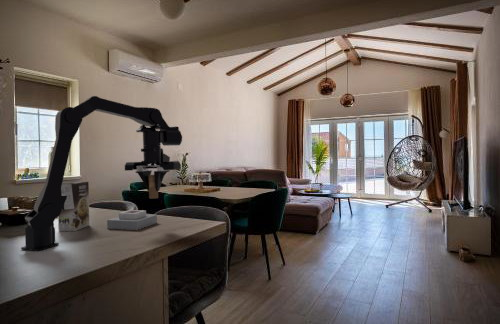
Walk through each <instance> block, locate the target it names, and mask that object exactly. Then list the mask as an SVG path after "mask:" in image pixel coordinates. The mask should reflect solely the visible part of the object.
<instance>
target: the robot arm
mask: <svg viewBox="0 0 500 324" xmlns="http://www.w3.org/2000/svg"><path fill="white" fill-rule="evenodd" d="M95 111H96V112H99V113H104V114H109V115H114V116H117V117H121V118H126V119H130V120H133V121H134V122H136V123H138V124H140V126H139V128H137V129H136V133H142V146H143V147H142V148H141V149H140V152H141V153H143V160H141V161H127V162H125V164H124V171H135V173H136V174H138V176H139V177H140V179H141V181H142V182H143V185H144V186H145V189H146V190H147V191H148V192H149V176H148V175H152V171H153V170H152V169H157V170H154V171H153V175H154V177H155V186H156V191H158V192H159V191H160V189H161V186H162V183H163V181H164V177H165V176H166V174H167V173H169V172H170V171H175V170H176V171H177V170H181V169H182V165H181V162H180V160H173V161H172V160H171V157H170V156H169V155H167V154H166V153H164V149H163V148H162V147H161V144H162V146H181V144H182V141H183V135H182V133H181V130H180V129H179V126H169V124H168V123H167V122H166V121H165V119H164V117H163V114H162V112H161V111H160V110H159V109H158V108H156V107H147V106H146V107H143V106H142V107H139V106H138V107H137V106H133V105H129V104H125V103H121V102H117V101H113V100H110V99H106V98H102V97H99V96H97V95H92V96H90V97H88V98H86V100H84V101H82V102H81V103H79V104H78V105H76V106H73V107H72V106H67V107H65V108H63V109H61V110H59V111H58V112H57V113H56V114H55V117H54V118H55V120H54V131H55V141H54V144H53V149H52V153H51V157H50V160H49V161H50V162H49V166H48V170H47V174H46V178H45V182H44V186H43V187H42V189H41V190H40V193H39V194H38V196H37V199H36V201H35V203H34V206H33V209H32V210H31V211H30V212H29V213H28V214H27V215H26V216H25V217H24V219H25V222H26V223H27V225H26V226H24V233H25V234H24V236H25V237H24V238H25V239H24V240H25V246H22V247H21V248H20V249H21V250H24V251H25V250H26V251H27V250H28V251H42V250H46V249H48V248H52V247H55V246H58V245H59V244H60V243H59V242H56V227H55V224H54V222H55V220H56V218H58V216H59V215H60V214H61V211H62V210H65V209H64V204H65V201H66V199H67V196H66V195H63V194H62V192H61V186H62V184H63V181H64V178H65V177H64V176H65V172H66V167H67V164H68V160H69V156H70V152H71V148H72V147H71V146H72V142H73V139H74V138H75V136H76V135H77V133H78V130H79V129H80V127H81V124H82V122H83V119H84V118H86V117H87V116H89V115H90V114H92V113H93V112H95ZM150 169H151V170H150Z"/></svg>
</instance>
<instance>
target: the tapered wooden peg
mask: <svg viewBox="0 0 500 324" xmlns="http://www.w3.org/2000/svg"><path fill="white" fill-rule="evenodd" d="M148 176H149V191H148V198H149V199H150V200H151V199H152V200H153V199H159V191H156V186H155V177H154V174H150V175H148Z"/></svg>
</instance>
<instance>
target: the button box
mask: <svg viewBox="0 0 500 324" xmlns="http://www.w3.org/2000/svg"><path fill="white" fill-rule="evenodd" d="M106 221H107V223H106V226H107V227H106V228H107V229H108V230H109V229H110V230H124V229H125V230H127V231H138V229H139V230H142V229H144V227H145V228H148V227H150V226H153V225H155V224H157V223H158V215H157V214H147V210H143V209H142V210H138V209H129V210H126V211H121V212H119V213H118V216H116V217H113V218H109V219H107V220H106ZM141 228H142V229H141Z"/></svg>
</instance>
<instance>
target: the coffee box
mask: <svg viewBox="0 0 500 324" xmlns="http://www.w3.org/2000/svg"><path fill="white" fill-rule="evenodd" d="M61 192H62V194H63V195H66V196H67V199H66V201H65V204H64V209H65V210H62V211H61V214H60V215H59V216H58V217H57V218H58V219H57V220H58V221H57V222H58V232H76V231H79V230H82V229H84V228H87V227H89V226H90V224H91V223H90V195H89V181H73V182H72V181H71V182H65V183H63V182H62V186H61Z"/></svg>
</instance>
